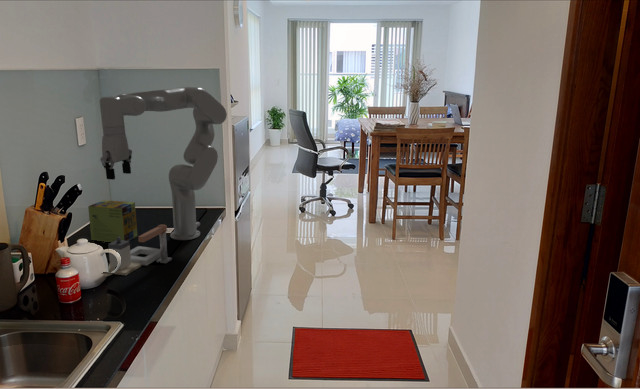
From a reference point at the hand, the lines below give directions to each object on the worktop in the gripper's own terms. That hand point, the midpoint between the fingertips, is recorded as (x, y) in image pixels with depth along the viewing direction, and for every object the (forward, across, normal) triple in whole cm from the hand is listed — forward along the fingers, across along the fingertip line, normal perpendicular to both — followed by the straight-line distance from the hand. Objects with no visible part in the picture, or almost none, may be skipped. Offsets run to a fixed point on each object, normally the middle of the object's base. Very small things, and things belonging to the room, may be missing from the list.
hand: (119, 176), depth 180 cm
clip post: (+31, +4, +18) cm, 36 cm away
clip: (+19, +9, +18) cm, 28 cm away
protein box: (+32, -13, -15) cm, 37 cm away
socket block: (+31, +3, +8) cm, 32 cm away
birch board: (+31, +15, +7) cm, 35 cm away
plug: (+30, +14, +7) cm, 34 cm away
